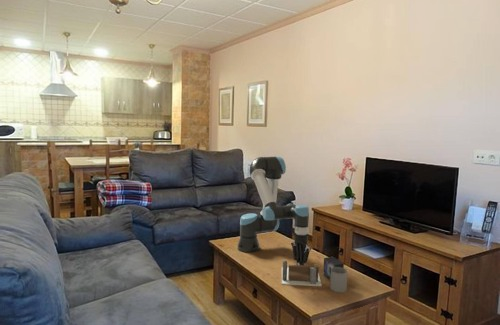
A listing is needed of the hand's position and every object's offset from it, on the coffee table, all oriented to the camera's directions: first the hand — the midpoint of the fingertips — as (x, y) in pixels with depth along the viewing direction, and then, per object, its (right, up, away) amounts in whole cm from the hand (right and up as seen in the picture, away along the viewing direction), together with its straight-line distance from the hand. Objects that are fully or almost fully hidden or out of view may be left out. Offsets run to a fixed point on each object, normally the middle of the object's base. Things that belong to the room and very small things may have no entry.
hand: (300, 273), depth 198 cm
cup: (+18, -4, -13) cm, 23 cm away
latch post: (+6, -3, -8) cm, 10 cm away
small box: (+18, -2, -1) cm, 19 cm away
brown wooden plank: (+1, -2, -6) cm, 6 cm away
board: (0, -2, +1) cm, 2 cm away
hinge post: (-9, -2, -5) cm, 11 cm away
